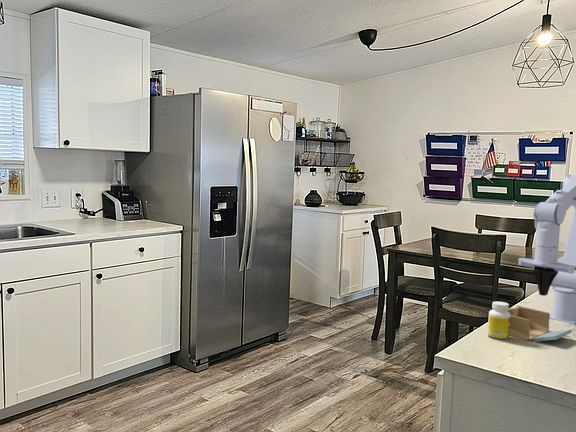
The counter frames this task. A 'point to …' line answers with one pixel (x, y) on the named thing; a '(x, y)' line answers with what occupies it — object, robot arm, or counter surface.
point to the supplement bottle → (499, 322)
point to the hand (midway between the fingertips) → (543, 294)
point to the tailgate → (552, 335)
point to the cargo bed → (528, 323)
